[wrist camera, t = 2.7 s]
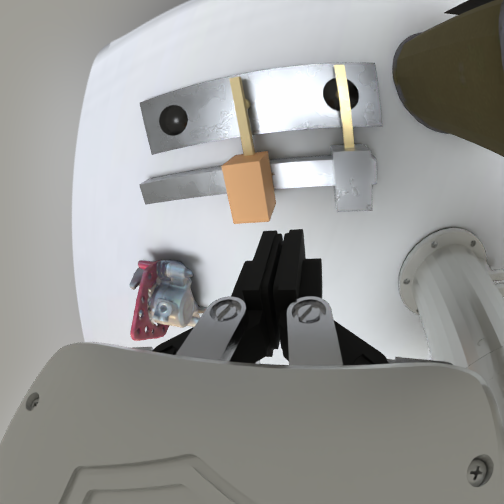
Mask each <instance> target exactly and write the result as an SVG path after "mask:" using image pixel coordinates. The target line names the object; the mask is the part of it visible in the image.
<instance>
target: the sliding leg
mask: <svg viewBox="0 0 504 504" xmlns="http://www.w3.org/2000/svg"><path fill="white" fill-rule="evenodd" d="M229 80H230V85H231V90H232V95H233V101H234V106H235V111H236V116H237V121H238V127H239V132H240V137H241V143H242V148H243V153H244V154H240V155H235V156H234V157H232V158H231V159H230V160H228V161H227V162H226V163H225V164H223V165H222V166H221V167H222V171H223V176H224V181H225V186H226V190H227V195H228V200H229V204H230V209H231V213H232V218H233V223H234V224H239V223H255V222H269V221H270V218H271V215H272V213H273V210H274V207H275V204H276V200H275V193H274V187H273V180H272V174H271V167H270V161H269V155H268V151H264V152H256V153H255V150H254V145H253V139H252V133H251V128H250V122H249V117H248V111H247V109H248V108H249V107H250V101H249V100H247V99H245V95H244V90H243V85H242V79H241V77H234V78H229Z"/></svg>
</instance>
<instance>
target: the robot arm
mask: <svg viewBox="0 0 504 504" xmlns="http://www.w3.org/2000/svg"><path fill="white" fill-rule="evenodd" d="M502 280H504V270H503V269H499V270H494V271H492V270H491V269H490V267H489V266H488V264H487V257H486V252H485V249H484V247H483V245H482V243H481V242H480V241H479V239H478V238H477V237H476V236H475V235H474V234H473V233H471V232H469V231H467V230H465V229H460V228H448V229H444V230H440V231H438V232H435V233H433V234H431V235H429V236H428V237H426V238H425V239H423V240H422V241H421V242H420V243H419V244H418V245H416V246H415V248H414V249H413V250H412V251H411V252H410V253H409V255H408V256H407V258H406V260H405V261H404V263H403V266H402V268H401V271H400V275H399V291H400V295H401V298H402V301H403V303H404V304H405V306H406V307H407V308H408V309H409V310H410V311H412V312H413V313H415V314H417V315H420V317H421V321H422V324H423V327H424V331H425V334H426V338H427V341H428V345H429V349H430V353H431V357H432V360H422V359H412V358H402V357H395V360H392V359H386V357H385V356H384V355H383V354H382V353H381V352H379V351H378V350H376V349H375V348H374V347H372V346H371V345H369V344H368V343H366V342H365V341H363V340H362V339H360V338H359V337H357V336H356V335H355V334H353V333H352V332H350V331H349V330H347V329H346V328H344V327H343V326H341V325H340V324H338V323H337V322H336V321H334V320H333V315H332V311H331V307H330V305H329V303H327V302H326V301H325V300H324V299H322V262H321V259H306V258H305V246H304V235H303V229H297V230H290V231H289V233H285V236H284V240H283V238H282V234H277V231H263V234H262V236H261V239H260V242H259V245H258V247H257V250H256V253H255V256H254V259H253V261H245V263H244V265H243V268H242V270H241V273H240V275H239V278H238V280H237V283H236V285H235V288H234V290H233V293H232V295H231V297H223V298H220V299H218V300H215V301H214V302H212V303H211V304H210V305H209V306H208V307H207V309H206V310H205V312H204V313H203V315H202V316H201V318H200V319H199V321H198V322H197V324H196V325H195V327H193V328H191V329H189V330H187V331H185V332H183V333H181V334H179V335H177V336H175V337H174V338H172V339H170V340H168V341H166V342H164V343H162V344H160V345H158V346H157V347H156V348H155V349H153V348H152V347H136V348H129V347H124V346H119V345H113V344H106V343H98V342H80V343H74V344H70V345H67V346H64V347H62V348H60V349H59V350H58V351H57V352H56V353H55V354H54V355H53V356H52V357H51V359H50V360H49V361H48V362H47V364H46V365H45V366H44V368H43V369H42V370H41V372H40V374H39V375H38V376H37V378H36V379H35V381H34V382H33V384H32V385H31V387H30V389H29V390H28V392H27V394H26V395H25V397H24V399H23V401H22V402H21V404H20V406H19V407H18V409H17V411H16V413H15V415H14V417H13V419H12V420H11V422H10V425H9V426H8V429H7V430H6V433H5V435H4V437H3V439H2V441H1V444H0V504H504V298H503V297H504V283H498V284H495V283H494V282H493V281H502ZM279 342H281V348H282V350H283V356H284V357H285V358H286V359H287V360H288V361H289V365H271V364H260V359H262V358H264V357H272V355H273V350H274V349H278V347H279Z"/></svg>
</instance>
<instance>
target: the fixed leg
mask: <svg viewBox="0 0 504 504" xmlns="http://www.w3.org/2000/svg"><path fill="white" fill-rule="evenodd" d="M334 72H335V78H336V84H337V91H336V97H337V98H338V99H339V105H340V113H341V122H342V131H343V141H344V145H331V153H332V164H333V177H334V192H335V202H336V209H337V212H341V211H372V162H371V150H370V149H369V148H368V147H367V146H366V145H365V144H358V145H354V136H353V126H352V116H351V107H350V100H349V92H348V85H347V79H346V72H345V66H344V65H334Z"/></svg>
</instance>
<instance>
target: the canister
mask: <svg viewBox="0 0 504 504" xmlns="http://www.w3.org/2000/svg"><path fill="white" fill-rule="evenodd" d="M445 13H448V14H456V15H458V16H455V17H453V18H451V19H449V20H447V21H445V22H443V23H441V24H439V25H437V26H435V27H433V28H431V29H429V30H427V31H425V32H423V33H417V34H414V35H412V36H410V37H408V38H407V39H405V40H404V41H403V42H402V43H401V44H400V46H399V47H398V49H397V51H396V53H395V56H394V62H393V78H394V82H395V85H396V88H397V91H398V94H399V97H400V99H401V101H402V102H403V104H404V106H405V108H406V109H407V110H408V111H409V112H410V113H411V114H412V115H413V116H414V117H415V118H416V120H417V121H419V122H420V123H421V124H423V125H424V126H426V127H427V128H429V129H432V130H434V131H437V132H440V133H446V134H453V135H455V136H458V137H460V138H463V139H465V140H468V141H470V142H473V143H475V144H477V145H480V146H482V147H484V148H486V149H489V150H491V151H493V152H495V153H497V154H499V155H501V156H503V157H504V0H468V1H466V2H464V3H462V4H460V5H458V6H456V7H454V8H452V9H450V10H448V11H446V12H445Z"/></svg>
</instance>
